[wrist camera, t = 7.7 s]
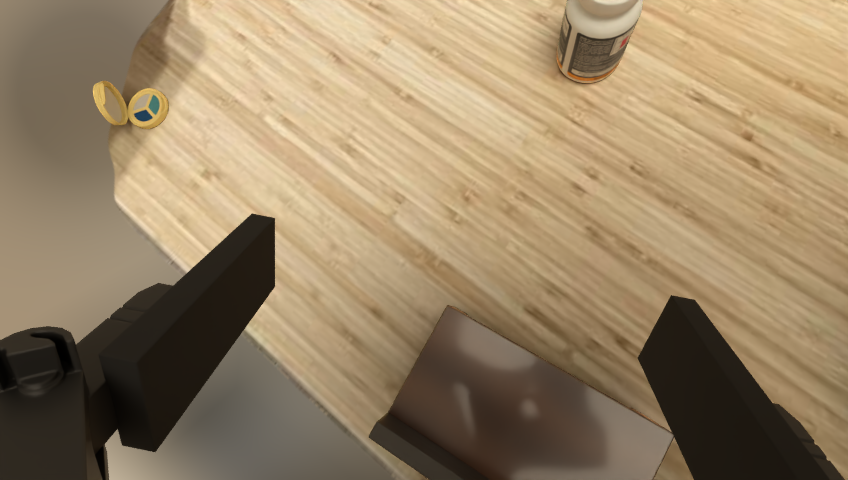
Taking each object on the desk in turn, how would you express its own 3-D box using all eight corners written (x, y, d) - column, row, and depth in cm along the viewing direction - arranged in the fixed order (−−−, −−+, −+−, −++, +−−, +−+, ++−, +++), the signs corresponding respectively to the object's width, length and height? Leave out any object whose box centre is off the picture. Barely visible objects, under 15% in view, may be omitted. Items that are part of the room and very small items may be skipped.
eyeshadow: (170, 121, 47) (133, 98, 42) (129, 135, 47) (88, 114, 43) (165, 86, 48) (128, 59, 43) (125, 100, 48) (84, 76, 44)
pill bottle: (632, 52, 40) (675, -34, 30) (590, 97, 40) (619, 25, 30) (582, 18, 41) (608, -74, 32) (541, 62, 41) (555, -17, 31)
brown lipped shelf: (455, 307, 38) (442, 302, 29) (644, 415, 34) (696, 447, 25) (398, 410, 37) (367, 437, 28) (585, 532, 33) (617, 609, 25)
